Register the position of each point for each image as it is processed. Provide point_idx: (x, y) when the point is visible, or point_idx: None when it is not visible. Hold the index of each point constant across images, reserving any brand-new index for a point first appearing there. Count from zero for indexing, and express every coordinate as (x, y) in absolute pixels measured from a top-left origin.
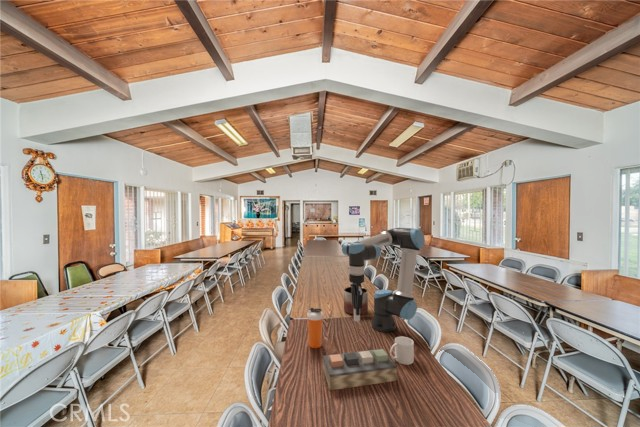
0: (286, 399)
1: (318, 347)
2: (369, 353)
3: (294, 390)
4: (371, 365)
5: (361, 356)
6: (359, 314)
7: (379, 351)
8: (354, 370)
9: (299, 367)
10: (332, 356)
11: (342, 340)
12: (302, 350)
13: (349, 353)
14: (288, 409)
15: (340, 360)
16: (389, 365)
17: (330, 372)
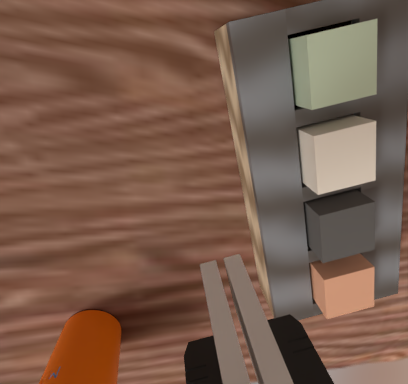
0: (372, 351)
1: (115, 318)
2: (342, 137)
3: (344, 342)
4: (379, 129)
5: (359, 183)
6: (298, 322)
7: (331, 67)
8: (396, 209)
9: (245, 351)
10: (337, 307)
11: (23, 224)
12: (141, 362)
13: (325, 240)
14: (403, 340)
15: (372, 276)
16: (401, 25)
17: (385, 292)
